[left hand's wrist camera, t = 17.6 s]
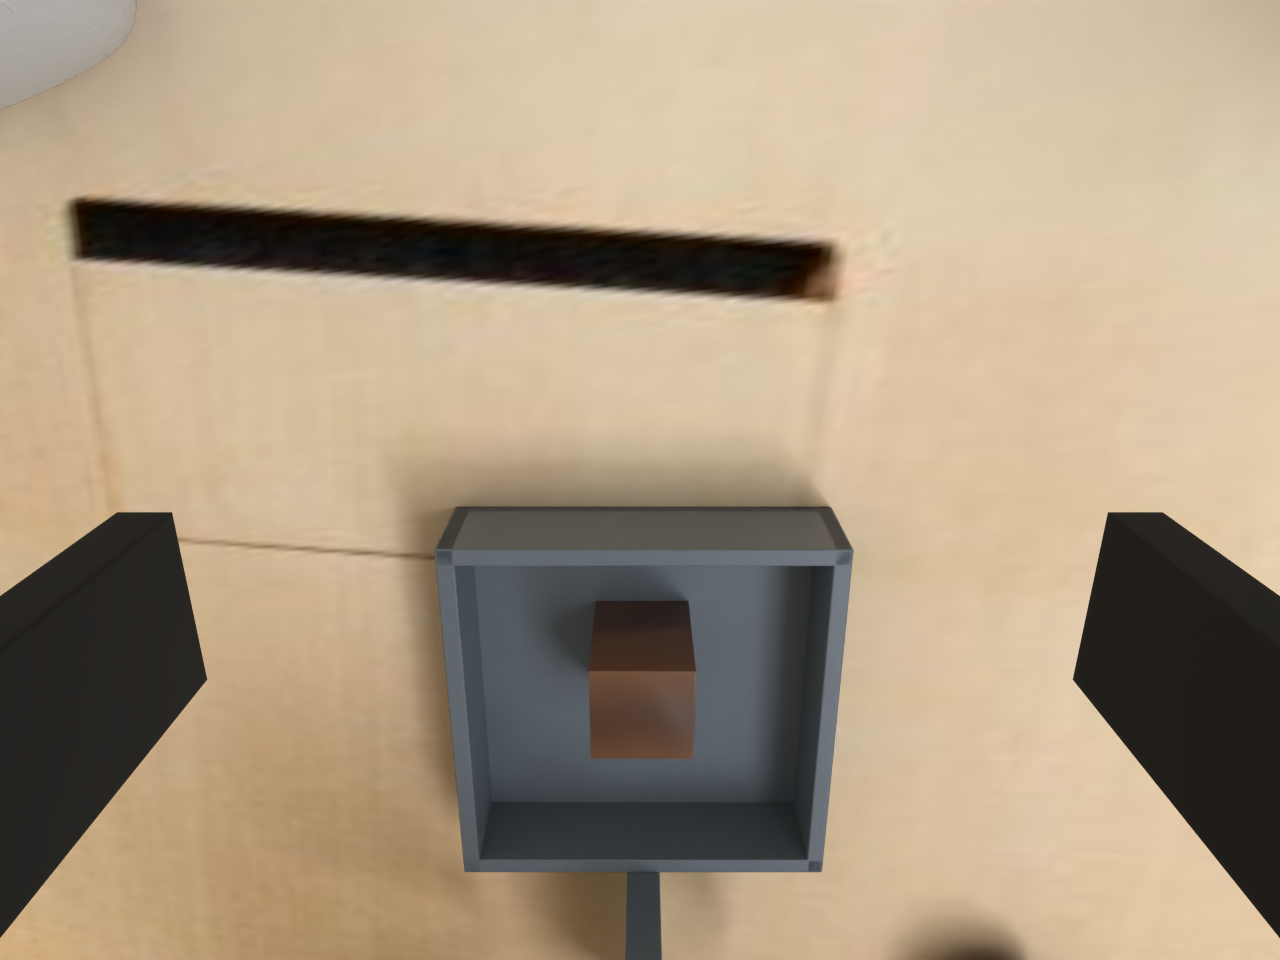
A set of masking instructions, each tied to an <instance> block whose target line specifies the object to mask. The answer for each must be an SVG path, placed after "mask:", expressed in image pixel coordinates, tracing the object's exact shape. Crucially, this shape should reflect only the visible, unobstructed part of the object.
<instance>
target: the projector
mask: <svg viewBox="0 0 1280 960" xmlns="http://www.w3.org/2000/svg"><path fill="white" fill-rule="evenodd" d="M136 8H137V0H0V109H2V108H4V107H7V106H10V105H13V104H15V103H18V102H20V101H23V100H25V99H28V98H30V97H33V96H35V95H37V94H40V93H42V92H45V91H47V90H49V89H51V88H53V87H56V86H58V85H60V84H62V83H64V82H66V81H68V80H70V79H72V78H74V77H76V76H78V75H80V74H81V73H83V72H85V71H87V70H88V69H90V68H92V67H93V66H95V65H97V64H98V63H100V62H101V61H102V60H104V59H105V58H107V57H108V56H110V55H111V54H112V53H113V52H114V51H115V50H116V49H117V48H118V47H119V46H120V45H121V44H122V43H123V42H124V40H125V39H126V37H127V36H128V34H129V33H130V31H131V28H132V26H133V23H134V20H135V14H136Z"/></svg>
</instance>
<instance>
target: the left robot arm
mask: <svg viewBox="0 0 1280 960" xmlns="http://www.w3.org/2000/svg"><path fill="white" fill-rule="evenodd" d="M206 680H207V677H206V672H205V667H204V662H203V658H202V653H201V648H200V643H199V639H198V634H197V629H196V624H195V620H194V615H193V610H192V605H191V601H190V596H189V591H188V586H187V582H186V577H185V572H184V567H183V563H182V558H181V553H180V548H179V544H178V539H177V534H176V529H175V525H174V520H173V515H172V512H117V513H116V514H114V515H113V516H112V517H110V518H109V519H107V520H106V521H105V522H103V523H102V524H100V525H99V526H98V527H96V528H95V529H93V530H92V531H91V532H89V533H88V534H86V535H85V536H84V537H82V538H81V539H79V540H78V541H77V542H75V543H74V544H72V545H71V546H70V547H68V548H67V549H66V550H64V551H63V552H61V553H60V554H59V555H57V556H56V557H54V558H53V559H52V560H50V561H49V562H47V563H46V564H45V565H43V566H42V567H40V568H39V569H38V570H36V571H35V572H33V573H32V574H31V575H29V576H28V577H26V578H25V579H24V580H22V581H21V582H19V583H18V584H17V585H15V586H14V587H12V588H11V589H10V590H8V591H7V592H5V593H4V594H3V595H1V596H0V938H1V936H2V935H3V934H4V933H5V931H6V930H7V929H8V928H9V926H10V925H11V924H12V923H13V921H14V920H15V919H16V918H17V916H18V915H19V914H20V913H21V911H22V910H23V909H24V908H25V906H26V905H27V904H28V903H29V901H30V900H31V899H32V898H33V896H34V895H35V894H36V893H37V891H38V890H39V889H40V888H41V886H42V885H43V884H44V883H45V881H46V880H47V879H48V878H49V876H50V875H51V874H52V873H53V871H54V870H55V869H56V868H57V866H58V865H59V864H60V863H61V861H62V860H63V859H64V858H65V856H66V855H67V854H68V853H69V851H70V850H71V849H72V848H73V846H74V845H75V844H76V843H77V841H78V840H79V839H80V838H81V836H82V835H83V834H84V833H85V831H86V830H87V829H88V828H89V826H90V825H91V824H92V823H93V821H94V820H95V819H96V818H97V816H98V815H99V814H100V813H101V811H102V810H103V809H104V808H105V806H106V805H107V804H108V803H109V801H110V800H111V799H112V798H113V796H114V795H115V794H116V793H117V791H118V790H119V789H120V788H121V786H122V785H123V784H124V783H125V781H126V780H127V779H128V778H129V776H130V775H131V774H132V773H133V771H134V770H135V769H136V768H137V766H138V765H139V764H140V763H141V761H142V760H143V759H144V758H145V756H146V755H147V754H148V753H149V751H150V750H151V749H152V748H153V746H154V745H155V744H156V743H157V741H158V740H159V739H160V738H161V736H162V735H163V734H164V733H165V731H166V730H167V729H168V728H169V726H170V725H171V724H172V723H173V721H174V720H175V719H176V718H177V717H178V715H179V714H180V713H181V712H182V710H183V709H184V708H185V707H186V705H187V704H188V703H189V702H190V700H191V699H192V698H193V697H194V695H195V694H196V693H197V692H198V690H199V689H200V688H201V687H202V685H203V684H204V683H205V682H206ZM1073 680H1074V682H1075V683H1076V684H1077V685H1078V687H1079V688H1080V689H1081V690H1082V692H1083V693H1084V694H1085V695H1086V697H1087V698H1088V699H1089V700H1090V702H1091V703H1092V704H1093V705H1094V707H1095V708H1096V709H1097V710H1098V712H1099V713H1100V714H1101V715H1102V717H1103V718H1104V719H1105V720H1106V722H1107V723H1108V724H1109V725H1110V726H1111V728H1112V729H1113V730H1114V731H1115V733H1116V734H1117V735H1118V736H1119V738H1120V739H1121V740H1122V741H1123V743H1124V744H1125V745H1126V746H1127V748H1128V749H1129V750H1130V751H1131V753H1132V754H1133V755H1134V756H1135V758H1136V759H1137V760H1138V761H1139V763H1140V764H1141V765H1142V766H1143V768H1144V769H1145V770H1146V771H1147V773H1148V774H1149V775H1150V776H1151V778H1152V779H1153V780H1154V781H1155V783H1156V784H1157V785H1158V786H1159V788H1160V789H1161V790H1162V791H1163V793H1164V794H1165V795H1166V796H1167V798H1168V799H1169V800H1170V801H1171V803H1172V804H1173V805H1174V806H1175V808H1176V809H1177V810H1178V811H1179V813H1180V814H1181V815H1182V816H1183V818H1184V819H1185V820H1186V821H1187V823H1188V824H1189V825H1190V826H1191V828H1192V829H1193V830H1194V831H1195V833H1196V834H1197V835H1198V836H1199V838H1200V839H1201V840H1202V841H1203V843H1204V844H1205V845H1206V846H1207V848H1208V849H1209V850H1210V851H1211V853H1212V854H1213V855H1214V856H1215V858H1216V859H1217V860H1218V861H1219V863H1220V864H1221V865H1222V866H1223V868H1224V869H1225V870H1226V871H1227V873H1228V874H1229V875H1230V876H1231V878H1232V879H1233V880H1234V881H1235V883H1236V884H1237V885H1238V886H1239V888H1240V889H1241V890H1242V891H1243V893H1244V894H1245V895H1246V896H1247V898H1248V899H1249V900H1250V901H1251V903H1252V904H1253V905H1254V906H1255V908H1256V909H1257V910H1258V911H1259V913H1260V914H1261V915H1262V916H1263V918H1264V919H1265V920H1266V921H1267V923H1268V924H1269V925H1270V926H1271V928H1272V929H1273V930H1274V931H1275V933H1276V934H1277V935H1278V936H1279V938H1280V596H1279V595H1277V594H1276V593H1275V592H1273V591H1272V590H1270V589H1269V588H1268V587H1266V586H1265V585H1263V584H1262V583H1261V582H1259V581H1258V580H1256V579H1255V578H1254V577H1252V576H1251V575H1249V574H1248V573H1247V572H1245V571H1244V570H1242V569H1241V568H1240V567H1238V566H1237V565H1235V564H1234V563H1233V562H1231V561H1230V560H1228V559H1227V558H1226V557H1224V556H1223V555H1221V554H1220V553H1219V552H1217V551H1216V550H1214V549H1213V548H1212V547H1210V546H1209V545H1208V544H1206V543H1205V542H1203V541H1202V540H1201V539H1199V538H1198V537H1196V536H1195V535H1194V534H1192V533H1191V532H1189V531H1188V530H1187V529H1185V528H1184V527H1182V526H1181V525H1180V524H1178V523H1177V522H1175V521H1174V520H1173V519H1171V518H1170V517H1168V516H1167V515H1166V514H1164V513H1163V512H1108V515H1107V520H1106V525H1105V529H1104V534H1103V539H1102V544H1101V548H1100V553H1099V558H1098V563H1097V567H1096V572H1095V577H1094V582H1093V586H1092V591H1091V596H1090V601H1089V605H1088V610H1087V615H1086V620H1085V624H1084V629H1083V634H1082V639H1081V643H1080V648H1079V653H1078V658H1077V662H1076V667H1075V672H1074V677H1073Z"/></svg>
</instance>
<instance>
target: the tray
mask: <svg viewBox="0 0 1280 960" xmlns="http://www.w3.org/2000/svg"><path fill="white" fill-rule="evenodd" d="M852 560H853V548H852V547H851V545H850V543H849V541H848V539H847V537H846V535H845V533H844V531H843V529H842V527H841V525H840V523H839V521H838V520H837V518H836V516H835V514H834V512H833V510H832V508H831V507H456V508H455V510H454V512H453V514H452V516H451V518H450V520H449V522H448V524H447V526H446V528H445V530H444V532H443V534H442V536H441V538H440V540H439V542H438V544H437V546H436V548H435V561H436V572H437V582H438V593H439V604H440V614H441V625H442V636H443V646H444V657H445V668H446V678H447V689H448V700H449V710H450V721H451V732H452V742H453V753H454V764H455V774H456V785H457V796H458V806H459V817H460V828H461V838H462V849H463V860H464V870H465V872H627V903H626V959H625V960H662V948H661V911H660V873H659V872H822V866H823V854H824V844H825V834H826V824H827V814H828V804H829V793H830V783H831V773H832V763H833V753H834V743H835V732H836V722H837V712H838V702H839V692H840V681H841V671H842V661H843V651H844V641H845V631H846V620H847V610H848V600H849V590H850V580H851V570H852ZM596 601H689V608H690V617H691V627H692V636H693V646H694V655H695V665H696V698H695V733H694V758H693V759H591V755H590V712H589V662H590V651H591V641H592V631H593V620H594V610H595V602H596Z"/></svg>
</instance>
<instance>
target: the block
mask: <svg viewBox="0 0 1280 960" xmlns="http://www.w3.org/2000/svg"><path fill="white" fill-rule="evenodd" d="M695 698H696V665H695V655H694V646H693V636H692V627H691V617H690V608H689V601H596V602H595V610H594V620H593V631H592V641H591V651H590V662H589V712H590V755H591V759H693V758H694V733H695Z"/></svg>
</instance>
